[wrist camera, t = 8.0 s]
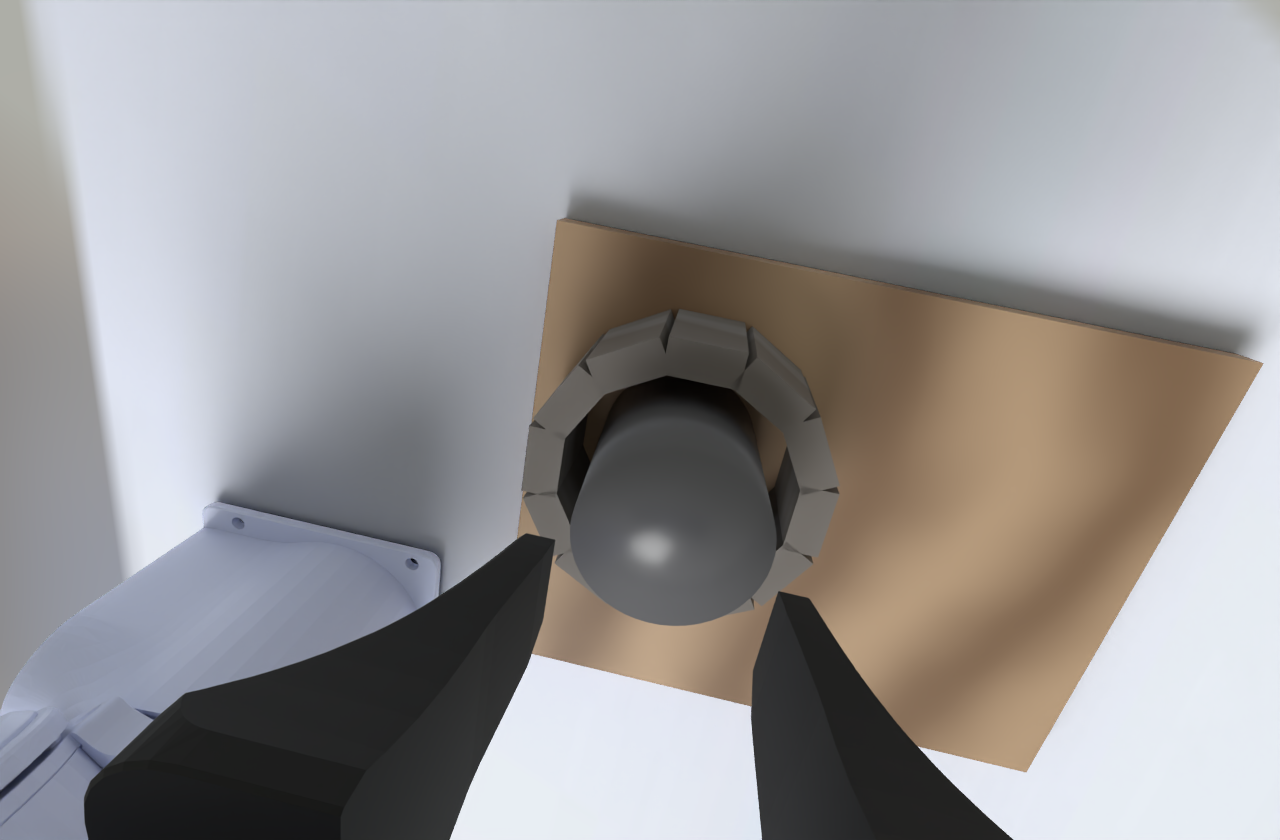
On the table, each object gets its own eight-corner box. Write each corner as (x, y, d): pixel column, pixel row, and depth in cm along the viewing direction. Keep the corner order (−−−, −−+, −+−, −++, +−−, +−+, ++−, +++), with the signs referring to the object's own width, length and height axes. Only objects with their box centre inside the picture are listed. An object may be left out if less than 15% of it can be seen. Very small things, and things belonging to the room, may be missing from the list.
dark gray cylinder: (590, 487, 21) (553, 599, 16) (621, 352, 19) (591, 424, 14) (730, 521, 21) (742, 645, 16) (773, 390, 19) (804, 476, 14)
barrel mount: (511, 629, 25) (469, 718, 21) (565, 218, 19) (520, 229, 15) (1014, 749, 24) (1073, 868, 20) (1236, 353, 18) (1385, 406, 14)
